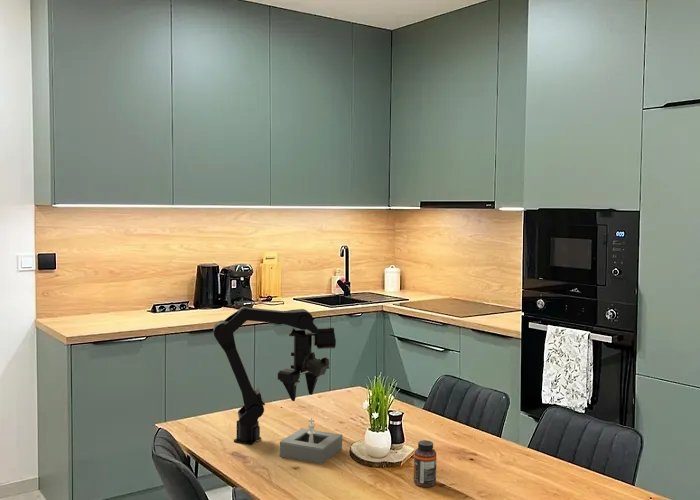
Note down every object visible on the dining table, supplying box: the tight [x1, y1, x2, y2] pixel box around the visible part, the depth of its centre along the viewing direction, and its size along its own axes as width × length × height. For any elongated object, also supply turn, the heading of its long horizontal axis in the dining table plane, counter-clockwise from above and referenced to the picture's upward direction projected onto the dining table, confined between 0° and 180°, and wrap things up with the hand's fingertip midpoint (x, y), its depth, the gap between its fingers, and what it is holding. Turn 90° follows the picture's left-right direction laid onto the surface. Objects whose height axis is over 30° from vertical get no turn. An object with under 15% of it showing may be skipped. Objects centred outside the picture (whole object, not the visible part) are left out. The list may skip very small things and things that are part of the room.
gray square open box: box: [279, 428, 343, 465], centre depth 209 cm, size 14×14×4 cm
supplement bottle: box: [413, 439, 438, 488], centre depth 187 cm, size 6×6×11 cm
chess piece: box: [307, 417, 316, 443], centre depth 209 cm, size 5×5×10 cm
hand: (302, 397), depth 222 cm, fingers open, 9 cm apart
